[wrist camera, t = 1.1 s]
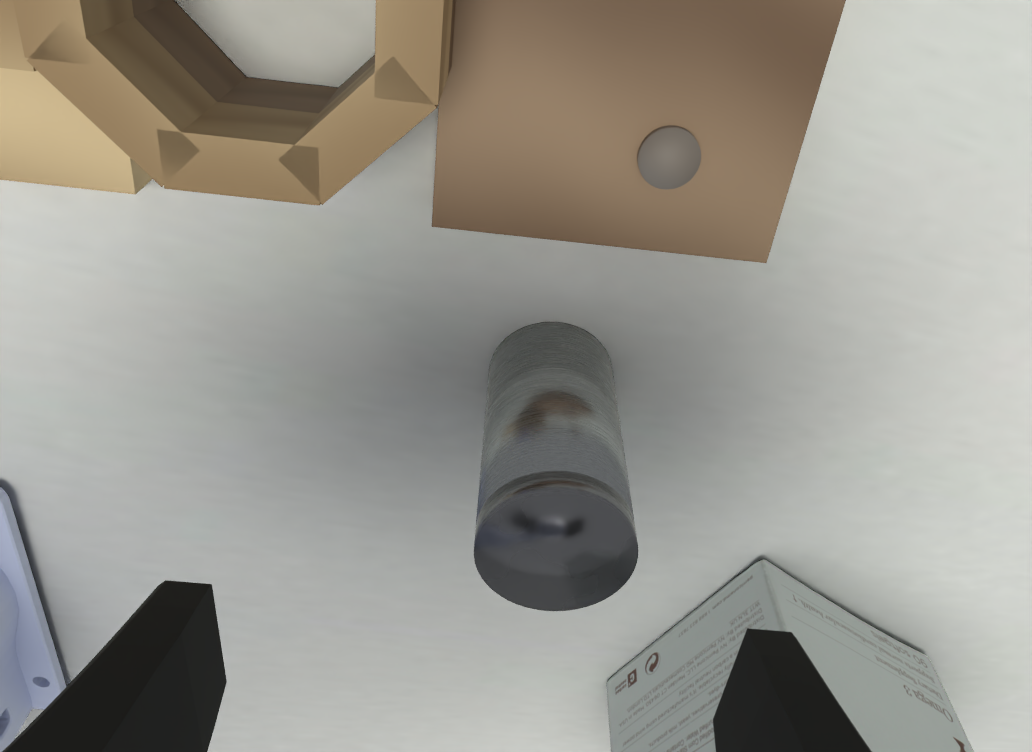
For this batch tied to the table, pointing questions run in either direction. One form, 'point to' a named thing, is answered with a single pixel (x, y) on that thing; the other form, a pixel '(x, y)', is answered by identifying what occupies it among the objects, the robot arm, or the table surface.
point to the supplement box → (828, 643)
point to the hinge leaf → (196, 107)
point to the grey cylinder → (553, 473)
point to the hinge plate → (597, 115)
